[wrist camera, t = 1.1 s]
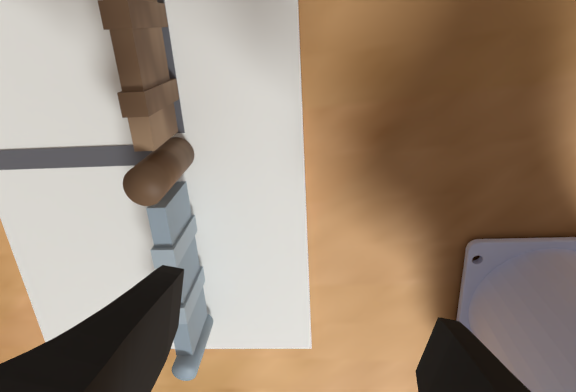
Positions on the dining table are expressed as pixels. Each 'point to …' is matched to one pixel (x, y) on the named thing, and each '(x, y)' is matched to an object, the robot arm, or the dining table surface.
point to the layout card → (121, 157)
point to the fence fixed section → (146, 97)
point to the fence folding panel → (183, 254)
